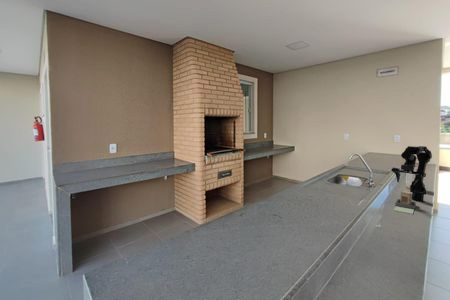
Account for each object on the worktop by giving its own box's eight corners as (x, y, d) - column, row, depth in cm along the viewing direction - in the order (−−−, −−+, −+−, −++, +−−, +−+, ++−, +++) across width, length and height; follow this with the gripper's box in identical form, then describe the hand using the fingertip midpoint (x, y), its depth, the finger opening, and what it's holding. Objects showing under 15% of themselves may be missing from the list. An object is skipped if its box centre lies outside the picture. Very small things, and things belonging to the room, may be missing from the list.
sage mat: (395, 207, 160) (395, 206, 160) (413, 210, 153) (413, 209, 153) (393, 211, 153) (393, 209, 153) (412, 214, 146) (412, 213, 146)
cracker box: (422, 192, 195) (424, 168, 193) (414, 191, 196) (416, 168, 194) (412, 187, 209) (413, 166, 207) (405, 187, 210) (406, 166, 208)
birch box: (402, 204, 165) (403, 191, 164) (411, 206, 161) (412, 192, 160) (399, 205, 162) (400, 192, 161) (408, 207, 158) (409, 194, 157)
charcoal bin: (397, 202, 169) (397, 199, 169) (415, 206, 162) (416, 202, 161) (395, 206, 161) (395, 202, 161) (414, 210, 154) (414, 206, 154)
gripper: (390, 158, 163) (386, 178, 161) (423, 161, 147) (418, 183, 145) (396, 162, 169) (391, 182, 167) (428, 165, 153) (423, 187, 151)
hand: (405, 183), depth 158 cm, fingers open, 9 cm apart
